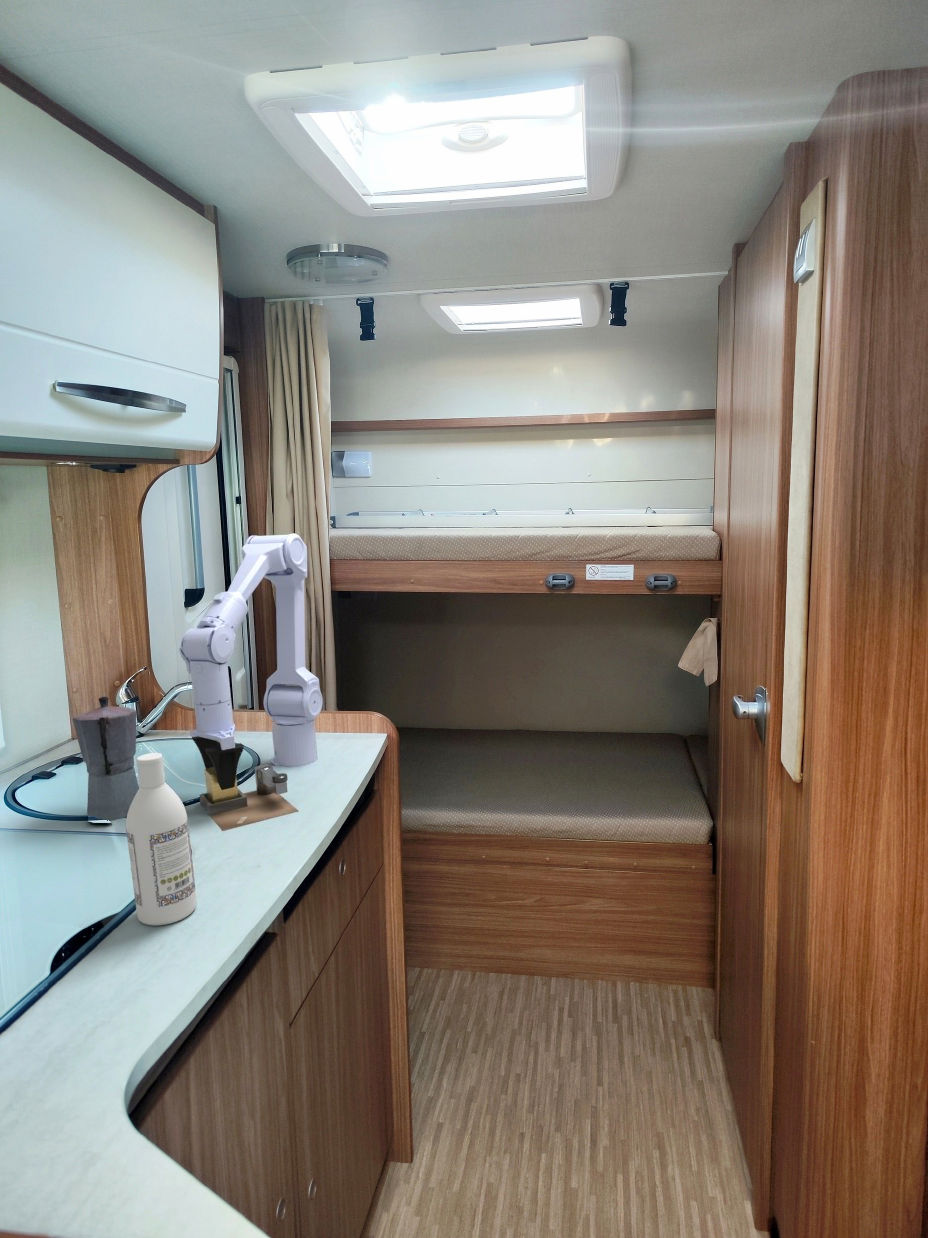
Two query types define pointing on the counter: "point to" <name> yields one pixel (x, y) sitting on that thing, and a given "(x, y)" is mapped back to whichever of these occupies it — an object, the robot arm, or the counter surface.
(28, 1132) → the counter surface
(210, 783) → the block
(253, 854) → the counter surface
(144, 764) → the bath foam
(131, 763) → the moka pot
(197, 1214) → the counter surface
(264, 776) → the crank
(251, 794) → the base
